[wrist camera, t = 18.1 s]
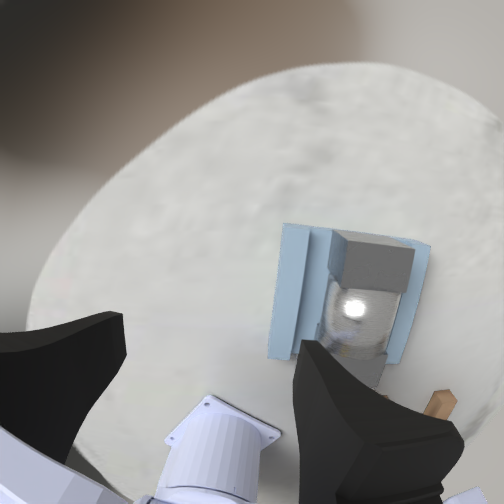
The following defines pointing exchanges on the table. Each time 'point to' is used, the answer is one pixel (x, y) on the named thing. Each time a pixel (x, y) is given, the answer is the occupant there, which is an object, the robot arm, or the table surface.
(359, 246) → the silver boxy piece
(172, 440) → the robot arm
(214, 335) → the table surface
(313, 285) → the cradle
